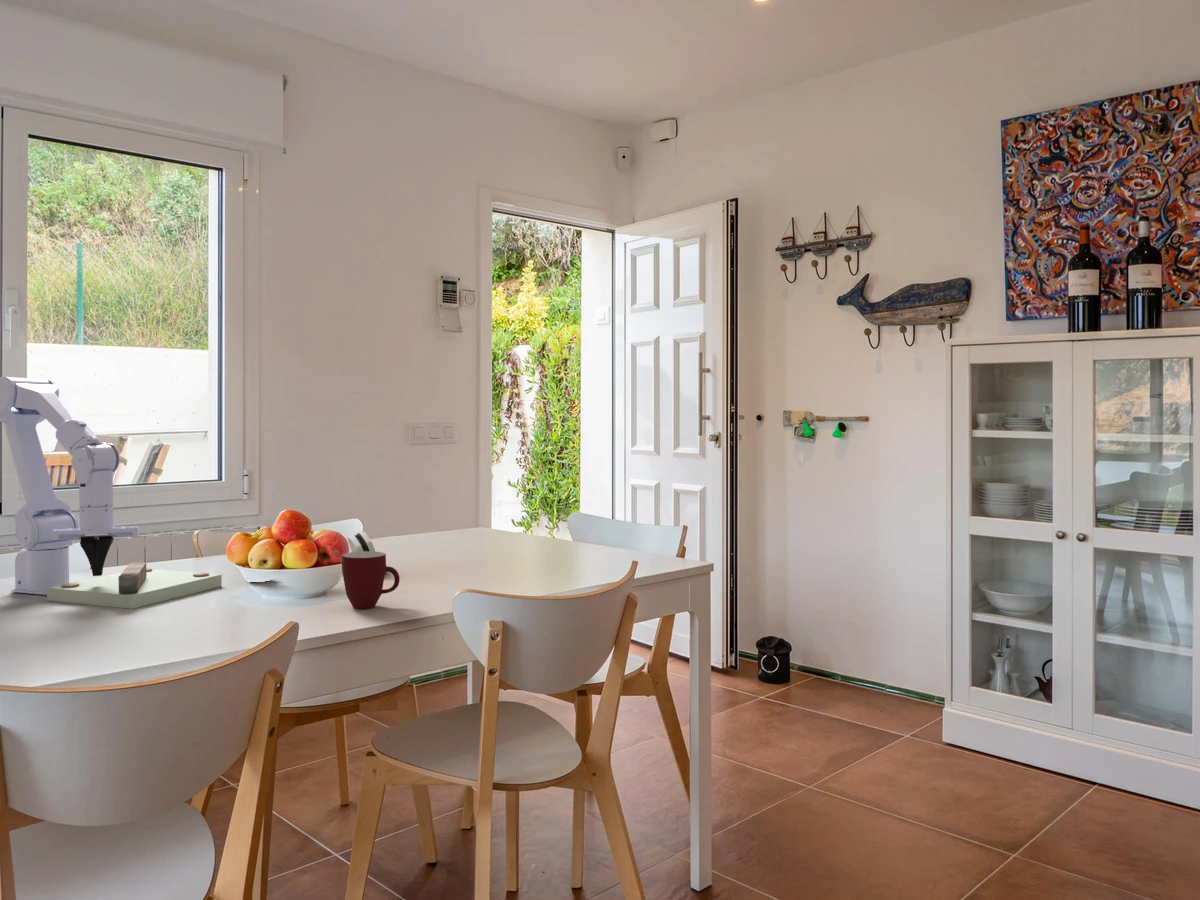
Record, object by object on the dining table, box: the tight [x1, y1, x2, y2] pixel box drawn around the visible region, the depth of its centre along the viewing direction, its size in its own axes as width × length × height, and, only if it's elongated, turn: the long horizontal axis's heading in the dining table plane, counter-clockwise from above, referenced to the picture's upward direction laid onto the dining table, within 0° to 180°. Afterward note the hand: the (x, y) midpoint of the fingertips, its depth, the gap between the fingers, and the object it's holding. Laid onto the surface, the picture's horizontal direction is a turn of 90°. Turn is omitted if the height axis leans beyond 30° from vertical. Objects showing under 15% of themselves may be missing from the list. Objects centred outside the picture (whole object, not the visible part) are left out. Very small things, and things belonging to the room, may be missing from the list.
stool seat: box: [46, 568, 223, 610], centre depth 177 cm, size 21×23×3 cm
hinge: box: [347, 531, 390, 575], centre depth 206 cm, size 17×5×10 cm, turn 24°
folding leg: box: [119, 561, 147, 594], centre depth 171 cm, size 18×3×3 cm, turn 22°
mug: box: [341, 551, 401, 610], centre depth 166 cm, size 10×8×10 cm
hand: (97, 575), depth 171 cm, fingers closed
